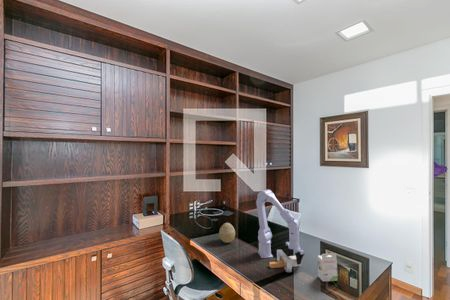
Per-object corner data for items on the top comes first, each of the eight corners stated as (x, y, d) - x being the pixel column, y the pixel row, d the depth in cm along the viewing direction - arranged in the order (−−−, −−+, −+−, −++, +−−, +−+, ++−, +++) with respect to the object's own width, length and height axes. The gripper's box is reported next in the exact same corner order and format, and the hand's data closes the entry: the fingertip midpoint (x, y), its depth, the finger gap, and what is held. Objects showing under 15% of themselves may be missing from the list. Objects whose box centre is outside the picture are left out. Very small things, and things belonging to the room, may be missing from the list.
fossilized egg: (225, 247, 156) (224, 226, 156) (216, 241, 167) (216, 222, 167) (238, 242, 163) (238, 223, 163) (229, 237, 174) (229, 219, 174)
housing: (277, 260, 136) (276, 249, 136) (281, 259, 136) (281, 249, 136) (286, 272, 121) (286, 260, 122) (291, 271, 122) (291, 260, 122)
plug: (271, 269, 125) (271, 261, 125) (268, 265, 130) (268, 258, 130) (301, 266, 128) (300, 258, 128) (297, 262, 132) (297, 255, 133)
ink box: (332, 275, 117) (332, 249, 118) (337, 281, 112) (337, 253, 113) (317, 276, 117) (317, 249, 117) (322, 281, 112) (321, 253, 112)
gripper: (281, 236, 136) (282, 257, 135) (296, 244, 122) (297, 268, 122) (290, 234, 138) (291, 255, 138) (306, 242, 125) (307, 265, 124)
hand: (294, 261), depth 130 cm, fingers open, 7 cm apart
